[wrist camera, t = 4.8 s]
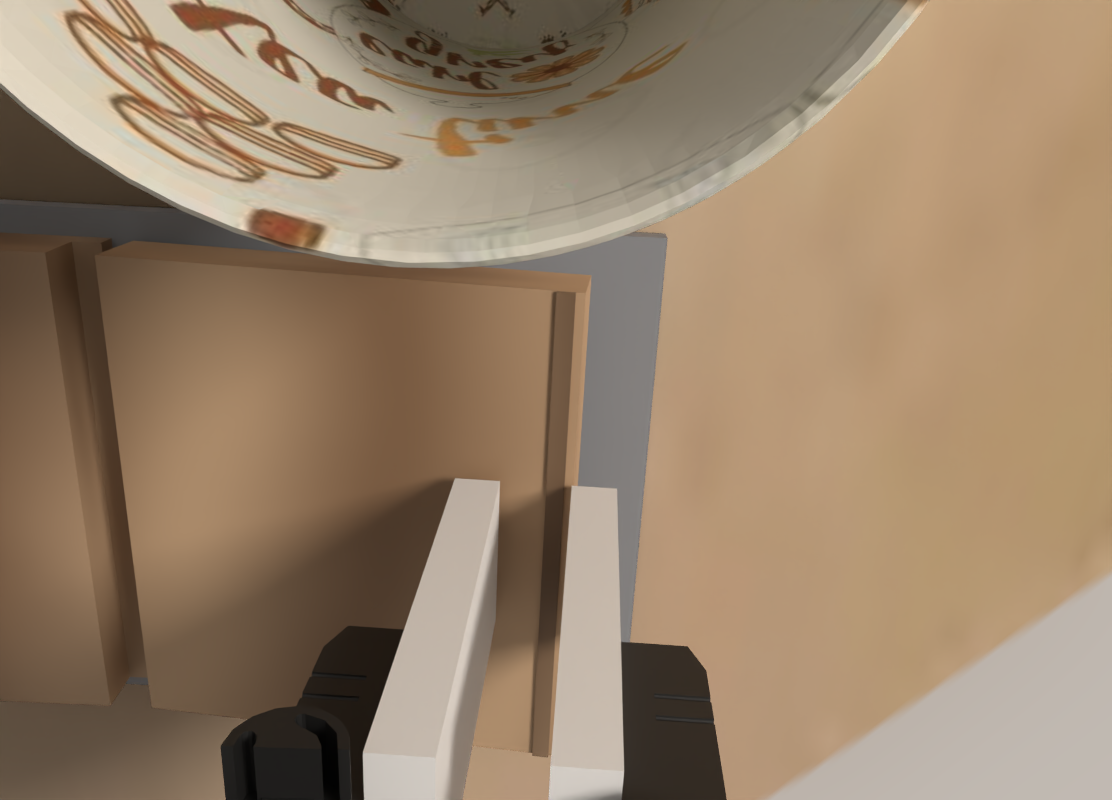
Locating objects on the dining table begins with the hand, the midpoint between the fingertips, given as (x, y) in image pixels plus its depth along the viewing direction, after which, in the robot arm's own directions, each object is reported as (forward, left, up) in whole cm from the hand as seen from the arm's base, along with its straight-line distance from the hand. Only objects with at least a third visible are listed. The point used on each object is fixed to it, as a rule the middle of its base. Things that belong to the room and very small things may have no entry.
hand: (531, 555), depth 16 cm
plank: (-3, 0, -2) cm, 4 cm away
